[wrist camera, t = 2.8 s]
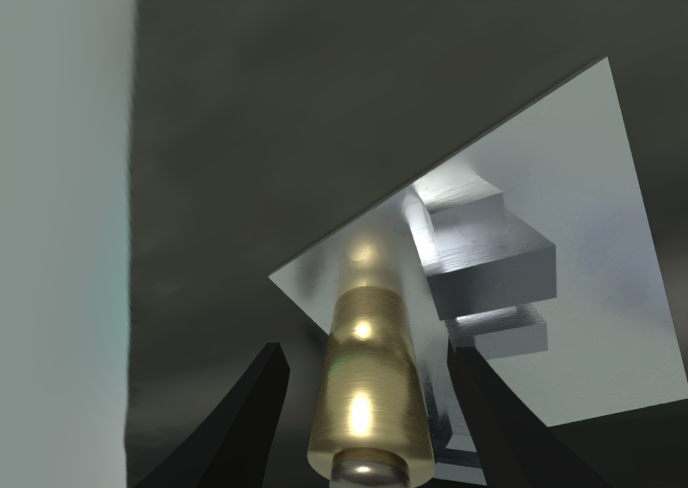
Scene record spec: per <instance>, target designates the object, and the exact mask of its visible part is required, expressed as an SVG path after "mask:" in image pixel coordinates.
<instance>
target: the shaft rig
mask: <svg viewBox="0 0 688 488" xmlns="http://www.w3.org/2000/svg"><path fill="white" fill-rule="evenodd" d="M268 277H269V278H270V279H271V280H272V281H273V282H274V283H275V284H276V285H277V286H278V287H279V288H280V289H281V290H282V291H283V292H284V293H285V294H287V295H288V296H289V297H290V298H291V299H292V300H293V301H294V302H295V303H296V304H297V305H298V306H299V307H300V308H301V309H302V310H303V311H304V312H305V313H306V314H307V315H308V316H309V317H310V318H311V319H312V320H313V321H315V322H316V323H317V324H318V325H319V326H320V327H321V328H322V329H323V330H324V331H325V332H326V333H327V334H328V335H329V334H330V329H331V323H332V318H333V312H334V307H335V304H336V302H337V300H338V299H339V298H340V296H341V295H343V294H344V293H345V292H347V291H348V290H351V289H353V288H356V287H360V286H379V287H383V288H386V289H388V290H391V291H393V292H394V293H396V294H397V295H398V296H399V297H400V298H401V299H402V300H403V301H404V303H405V305H406V307H407V310H408V316H409V321H410V327H411V332H412V338H413V344H414V349H415V355H416V360H417V366H418V371H419V377H420V383H421V388H422V394H423V399H424V405H425V410H426V416H427V422H428V427H429V433H430V438H431V444H432V449H433V455H434V461H435V467H436V470H435V474H434V475H433V477H432V478H439V479H446V480H453V481H460V482H467V483H474V484H481V485H487V484H486V481H485V477H484V474H483V470H482V467H481V463H480V460H479V457H478V454H477V451H476V449H475V446H474V443H473V441H472V438H471V435H470V432H469V430H468V427H467V424H466V422H465V419H464V416H463V414H462V411H461V408H460V406H459V403H458V400H457V397H456V395H455V392H454V389H453V385H452V382H451V378H450V374H449V370H448V366H447V352H448V335H449V337H450V340H451V343H452V346H453V349H454V352H455V349H456V347H475V348H476V349H477V350H478V351H479V352H480V354H481V355H482V356H483V357H484V359H485V360H486V361H487V362H488V364H489V365H490V366H491V367H492V368H493V369H494V371H495V372H496V373H497V374H498V375H499V376H500V377H501V379H502V380H503V381H504V382H505V383H506V384H507V385H508V387H509V388H510V389H511V390H512V391H513V392H514V393H515V394H516V395H517V396H518V397H519V398H520V399H521V400H522V402H523V403H524V404H525V405H526V406H527V407H528V408H529V409H530V410H531V411H532V412H533V413H534V414H535V415H536V416H537V417H538V418H539V419H540V420H541V421H542V422H543V423H544V424H545V425H546V426H547V427H549V426H554V425H559V424H564V423H569V422H574V421H579V420H584V419H589V418H593V417H598V416H603V415H608V414H613V413H618V412H623V411H628V410H632V409H637V408H642V407H647V406H652V405H657V404H662V403H667V402H672V401H676V400H681V399H686V398H688V383H687V379H686V374H685V370H684V366H683V362H682V358H681V354H680V350H679V346H678V342H677V338H676V334H675V330H674V326H673V322H672V318H671V313H670V309H669V305H668V301H667V297H666V293H665V289H664V285H663V281H662V277H661V273H660V269H659V265H658V261H657V257H656V252H655V248H654V244H653V240H652V236H651V232H650V228H649V224H648V220H647V216H646V212H645V208H644V204H643V200H642V196H641V191H640V187H639V183H638V179H637V175H636V171H635V167H634V163H633V159H632V155H631V151H630V147H629V143H628V139H627V135H626V130H625V126H624V122H623V118H622V114H621V110H620V106H619V102H618V98H617V94H616V90H615V86H614V82H613V78H612V74H611V69H610V65H609V61H608V57H603V58H598V59H596V60H594V61H593V62H591V63H590V64H588V65H587V66H585V67H584V68H582V69H580V70H579V71H577V72H576V73H574V74H573V75H571V76H570V77H568V78H567V79H565V80H564V81H562V82H561V83H559V84H558V85H556V86H555V87H553V88H551V89H550V90H548V91H547V92H545V93H544V94H542V95H541V96H539V97H538V98H536V99H535V100H533V101H532V102H530V103H529V104H527V105H526V106H524V107H522V108H521V109H519V110H518V111H516V112H515V113H513V114H512V115H510V116H509V117H507V118H506V119H504V120H503V121H501V122H500V123H498V124H497V125H495V126H493V127H492V128H490V129H489V130H487V131H486V132H484V133H483V134H481V135H480V136H478V137H477V138H475V139H474V140H472V141H471V142H469V143H468V144H466V145H464V146H463V147H461V148H460V149H458V150H457V151H455V152H454V153H452V154H451V155H449V156H448V157H446V158H445V159H443V160H442V161H440V162H439V163H437V164H435V165H434V166H432V167H431V168H429V169H428V170H426V171H425V172H423V173H422V174H420V175H419V176H417V177H416V178H414V179H413V180H411V181H410V182H408V183H406V184H405V185H403V186H402V187H400V188H399V189H397V190H396V191H394V192H393V193H391V194H390V195H388V196H387V197H385V198H384V199H382V200H380V201H379V202H377V203H376V204H374V205H373V206H371V207H370V208H368V209H367V210H365V211H364V212H362V213H361V214H359V215H358V216H356V217H355V218H353V219H351V220H350V221H348V222H347V223H345V224H344V225H342V226H341V227H339V228H338V229H336V230H335V231H333V232H332V233H330V234H329V235H327V236H326V237H324V238H322V239H321V240H319V241H318V242H316V243H315V244H313V245H312V246H310V247H309V248H307V249H306V250H304V251H303V252H301V253H300V254H298V255H297V256H295V257H293V258H292V259H290V260H289V261H287V262H286V263H284V264H283V265H281V266H280V267H278V268H277V269H275V270H274V271H272V272H271V273H270V275H269V276H268Z"/></svg>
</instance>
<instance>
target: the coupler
mask: <svg viewBox="0 0 688 488" xmlns="http://www.w3.org/2000/svg"><path fill="white" fill-rule="evenodd" d="M308 461H309V463H310V465H311V466H312V467H313V469H315V470H316V471H317V472H318V473H319V474H321V475H322V476H324V477H326V478H328V479H330V485H329V486H330V488H414V487H417V486H420V485H422V484H424V483H426V482H427V481H429V480H430V479H431V478H432V477H433V475H434V474H435V470H436V467H435V461H434V455H433V449H432V444H431V438H430V433H429V427H428V422H427V416H426V410H425V405H424V399H423V394H422V388H421V383H420V377H419V371H418V366H417V360H416V355H415V349H414V344H413V338H412V332H411V327H410V321H409V316H408V310H407V307H406V305H405V303H404V301H403V300H402V299H401V298H400V297H399V296H398V295H397V294H396V293H394V292H393V291H391V290H388V289H386V288H383V287H379V286H360V287H356V288H353V289H351V290H348V291H347V292H345V293H344V294H343V295H341V296H340V298H339V299H338V300H337V302H336V304H335V307H334V312H333V318H332V323H331V329H330V334H329V339H328V345H327V350H326V356H325V361H324V367H323V372H322V378H321V383H320V389H319V394H318V400H317V405H316V411H315V416H314V422H313V427H312V432H311V438H310V443H309V449H308Z"/></svg>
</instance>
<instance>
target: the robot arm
mask: <svg viewBox="0 0 688 488" xmlns="http://www.w3.org/2000/svg"><path fill="white" fill-rule="evenodd" d="M447 366H448V370H449V374H450V378H451V382H452V385H453V389H454V392H455V395H456V397H457V400H458V403H459V406H460V408H461V411H462V414H463V416H464V419H465V422H466V424H467V427H468V430H469V432H470V435H471V438H472V441H473V443H474V446H475V449H476V451H477V454H478V457H479V460H480V463H481V467H482V470H483V474H484V477H485V481H486V484H487V487H488V488H616V487H615V486H614V485H613V484H611V483H610V482H609V481H608V480H607V479H606V478H604V477H603V476H602V475H601V474H600V473H599V472H597V471H596V470H595V469H594V468H593V467H592V466H590V465H589V464H588V463H587V462H586V461H585V460H583V459H582V458H581V457H580V456H579V455H578V454H576V453H575V452H574V451H573V450H572V449H571V448H570V447H569V446H568V445H567V444H566V443H564V442H563V441H562V440H561V439H560V438H559V437H558V436H557V435H556V434H555V433H554V432H553V431H552V430H551V429H549V428H548V427H547V426H546V425H545V424H544V423H543V422H542V421H541V420H540V419H539V418H538V417H537V416H536V415H535V414H534V413H533V412H532V411H531V410H530V409H529V408H528V407H527V406H526V405H525V404H524V403H523V402H522V400H521V399H520V398H519V397H518V396H517V395H516V394H515V393H514V392H513V391H512V390H511V389H510V388H509V387H508V385H507V384H506V383H505V382H504V381H503V380H502V379H501V377H500V376H499V375H498V374H497V373H496V372H495V371H494V369H493V368H492V367H491V366H490V365H489V364H488V362H487V361H486V360H485V359H484V357H483V356H482V355H481V354H480V352H479V351H478V350H477V349H476V348H475V347H456V349H455V352H454V349H453V346H452V343H451V340H450V337H449V335H448V352H447ZM289 374H290V368H289V365H288V363H287V361H286V358H285V356H284V353H283V351H282V349H281V346H280V344H279V343H267V344H266V345H265V346H264V347H263V349H262V350H261V351H260V353H259V354H258V355H257V357H256V358H255V359H254V361H253V362H252V363H251V365H250V366H249V367H248V369H247V370H246V371H245V372H244V374H243V375H242V376H241V377H240V379H239V380H238V381H237V383H236V384H235V385H234V386H233V388H232V389H231V390H230V391H229V392H228V394H227V395H226V396H225V397H224V398H223V400H222V401H221V402H220V403H219V404H218V405H217V407H216V408H215V409H214V410H213V411H212V412H211V413H210V415H209V416H208V417H207V418H206V419H205V420H204V421H203V422H202V423H201V424H200V425H199V426H198V428H197V429H196V430H195V431H194V432H193V433H192V434H191V435H190V436H189V437H188V438H187V439H186V440H185V441H184V442H183V443H182V444H181V445H180V446H179V447H178V448H177V449H176V450H174V451H173V452H172V453H171V454H170V455H169V456H168V457H167V458H166V459H165V460H164V461H163V462H162V463H161V464H160V465H159V466H157V467H156V468H155V469H154V470H153V471H152V472H151V473H150V474H148V475H147V476H146V477H145V478H144V479H143V480H142V481H141V482H139V483H138V484H137V485H136V486H135V487H134V488H262V483H263V479H264V474H265V469H266V464H267V459H268V455H269V452H270V448H271V444H272V441H273V437H274V434H275V430H276V427H277V424H278V420H279V417H280V413H281V410H282V406H283V403H284V399H285V396H286V391H287V386H288V380H289Z"/></svg>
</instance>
